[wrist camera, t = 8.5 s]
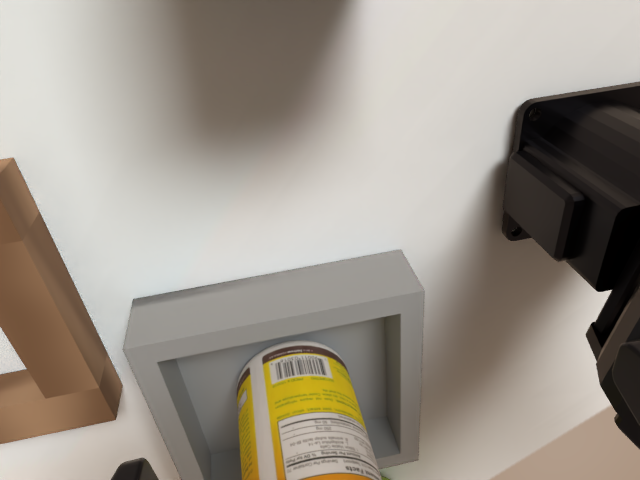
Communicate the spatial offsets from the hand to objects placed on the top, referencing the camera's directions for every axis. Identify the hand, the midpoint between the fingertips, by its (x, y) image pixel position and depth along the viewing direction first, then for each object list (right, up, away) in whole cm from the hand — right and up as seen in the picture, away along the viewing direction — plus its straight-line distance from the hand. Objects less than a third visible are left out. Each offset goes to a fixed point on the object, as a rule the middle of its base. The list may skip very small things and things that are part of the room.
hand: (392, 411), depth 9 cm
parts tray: (-3, -3, +16) cm, 17 cm away
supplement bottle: (-3, -3, +16) cm, 16 cm away
